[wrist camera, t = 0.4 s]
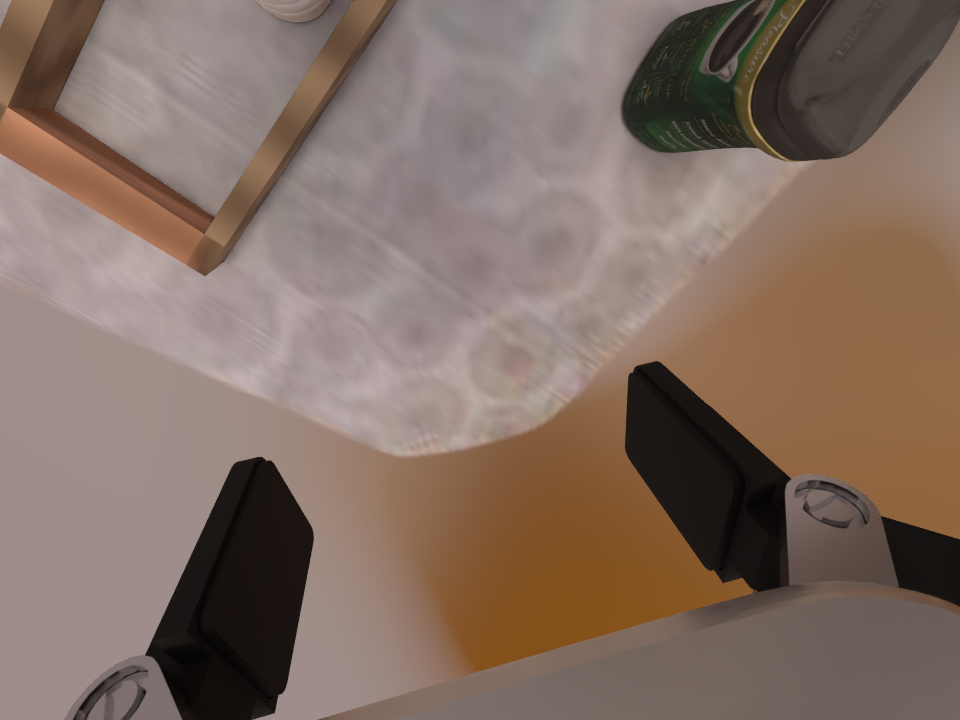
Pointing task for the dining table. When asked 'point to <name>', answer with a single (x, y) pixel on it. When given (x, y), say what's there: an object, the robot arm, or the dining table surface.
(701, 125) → the coffee jar
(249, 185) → the channel
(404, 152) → the dining table surface
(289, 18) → the water bottle
